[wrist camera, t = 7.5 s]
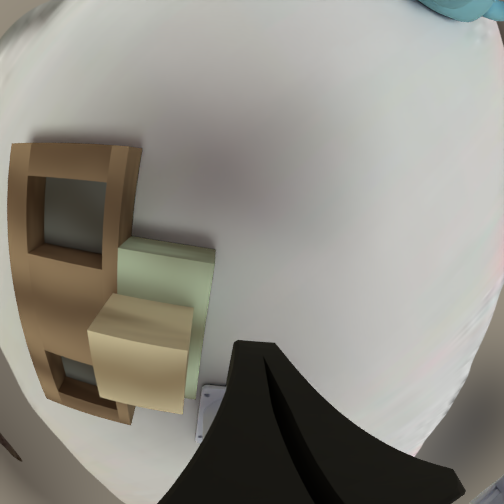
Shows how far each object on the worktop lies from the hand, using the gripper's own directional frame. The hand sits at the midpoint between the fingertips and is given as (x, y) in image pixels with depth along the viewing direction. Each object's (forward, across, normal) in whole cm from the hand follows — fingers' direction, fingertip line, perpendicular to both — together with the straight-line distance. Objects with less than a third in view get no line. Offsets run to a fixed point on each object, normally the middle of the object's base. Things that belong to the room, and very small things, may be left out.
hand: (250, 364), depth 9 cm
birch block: (+7, +5, +4) cm, 10 cm away
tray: (+9, +9, +5) cm, 14 cm away
